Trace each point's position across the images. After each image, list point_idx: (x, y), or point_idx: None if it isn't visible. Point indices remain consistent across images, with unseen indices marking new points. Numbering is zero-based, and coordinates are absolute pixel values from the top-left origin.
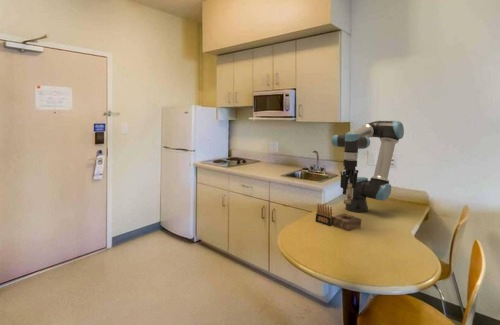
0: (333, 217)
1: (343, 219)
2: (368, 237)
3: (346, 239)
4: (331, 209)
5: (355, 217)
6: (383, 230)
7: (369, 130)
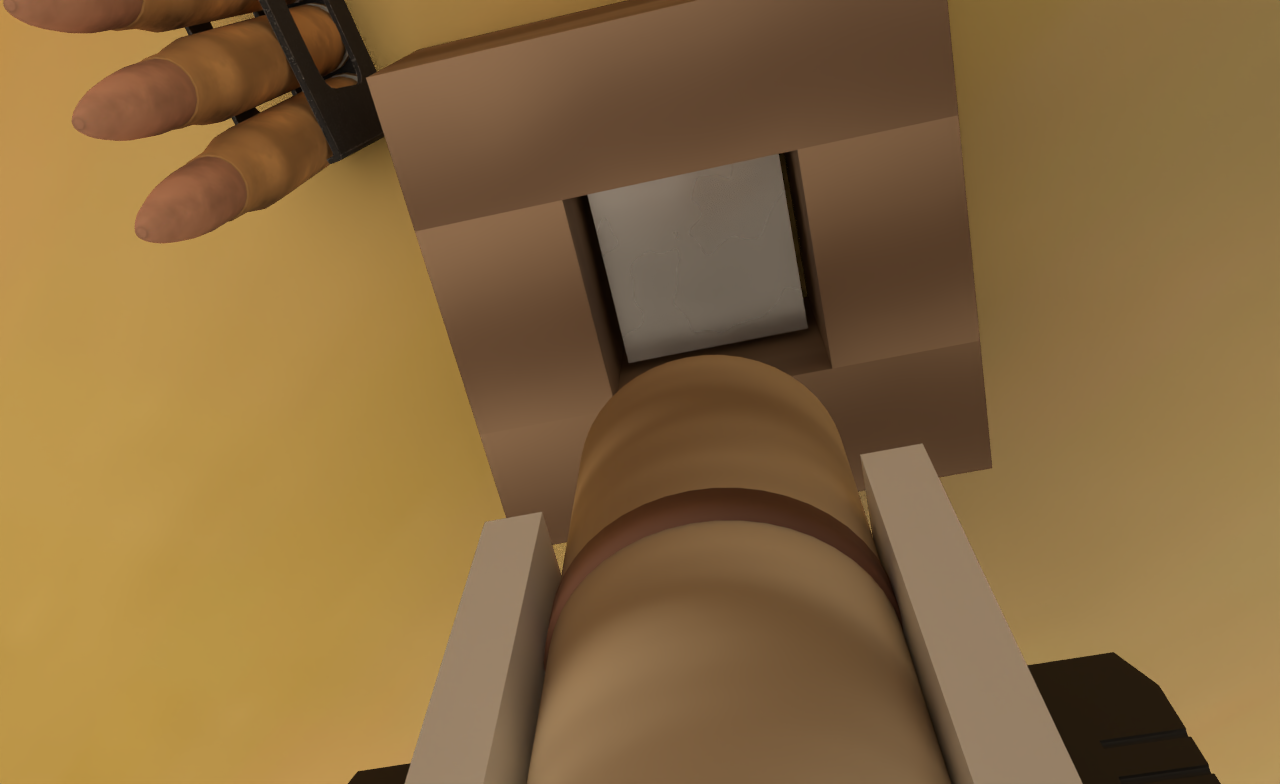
0: (392, 151)
1: (538, 378)
2: None
3: (304, 708)
4: (203, 234)
5: (943, 345)
6: (1204, 619)
7: None
